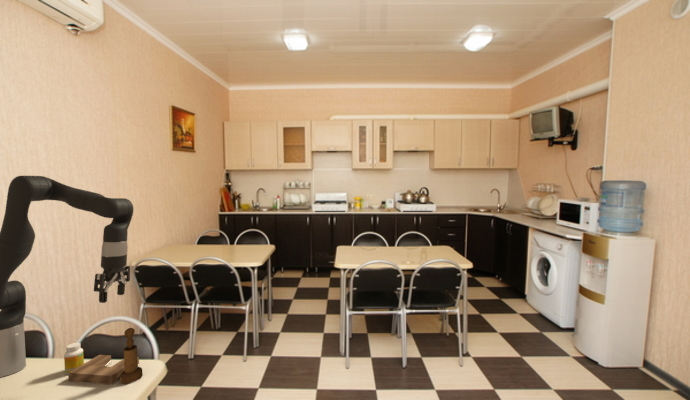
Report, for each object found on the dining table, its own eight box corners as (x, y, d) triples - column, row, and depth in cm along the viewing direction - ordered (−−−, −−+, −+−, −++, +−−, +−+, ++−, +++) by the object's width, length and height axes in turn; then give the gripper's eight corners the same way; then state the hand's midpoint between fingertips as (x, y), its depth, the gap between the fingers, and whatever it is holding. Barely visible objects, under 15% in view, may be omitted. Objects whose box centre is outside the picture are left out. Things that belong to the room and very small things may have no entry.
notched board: (68, 381, 110) (68, 372, 110) (99, 362, 122) (99, 354, 122) (111, 384, 108) (111, 375, 108) (139, 364, 120) (138, 357, 120)
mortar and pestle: (131, 385, 107) (128, 333, 107) (115, 383, 109) (113, 332, 108) (146, 373, 114) (144, 325, 113) (131, 372, 115) (129, 323, 115)
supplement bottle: (81, 372, 116) (80, 346, 115) (62, 376, 113) (61, 350, 113) (86, 365, 120) (84, 340, 120) (68, 368, 118) (66, 343, 118)
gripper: (118, 249, 120) (116, 291, 120) (87, 256, 106) (85, 304, 106) (138, 250, 120) (135, 293, 120) (109, 258, 105) (107, 305, 106)
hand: (112, 298), depth 113 cm, fingers open, 8 cm apart
